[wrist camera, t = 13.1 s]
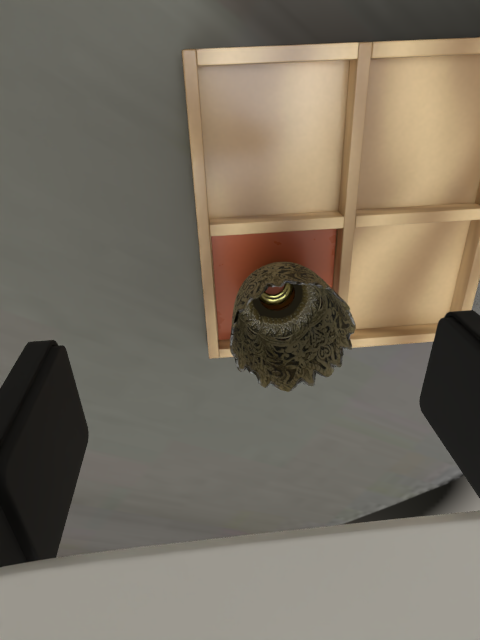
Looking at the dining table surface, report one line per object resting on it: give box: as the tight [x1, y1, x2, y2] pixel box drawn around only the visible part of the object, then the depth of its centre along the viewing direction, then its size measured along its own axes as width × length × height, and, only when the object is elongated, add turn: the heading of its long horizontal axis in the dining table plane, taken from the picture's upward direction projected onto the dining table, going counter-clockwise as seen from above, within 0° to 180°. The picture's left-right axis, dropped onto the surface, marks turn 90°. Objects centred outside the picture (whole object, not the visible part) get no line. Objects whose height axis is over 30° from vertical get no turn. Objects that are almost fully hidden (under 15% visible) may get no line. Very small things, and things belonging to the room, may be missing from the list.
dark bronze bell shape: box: [230, 262, 356, 392], centre depth 29 cm, size 8×7×8 cm
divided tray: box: [182, 37, 480, 358], centre depth 30 cm, size 20×20×2 cm
